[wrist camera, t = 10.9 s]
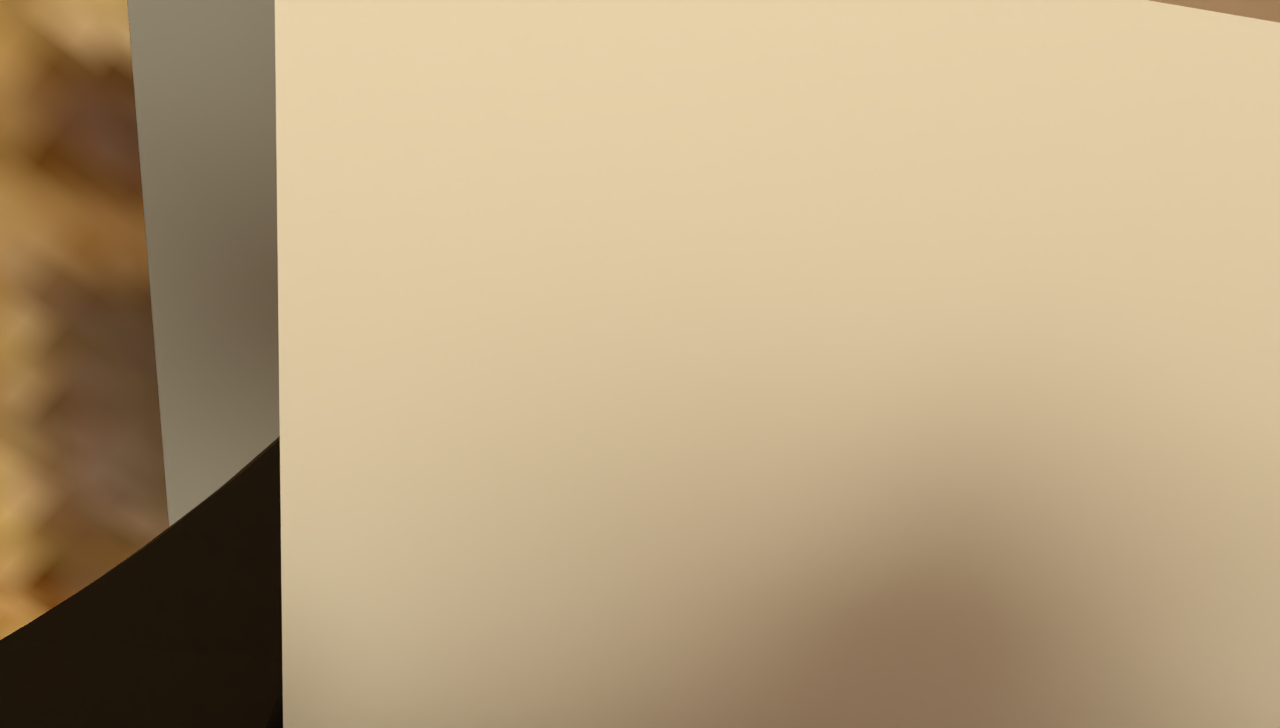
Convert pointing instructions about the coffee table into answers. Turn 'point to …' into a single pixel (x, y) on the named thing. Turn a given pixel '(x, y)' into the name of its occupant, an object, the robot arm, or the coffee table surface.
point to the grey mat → (209, 232)
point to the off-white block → (779, 363)
